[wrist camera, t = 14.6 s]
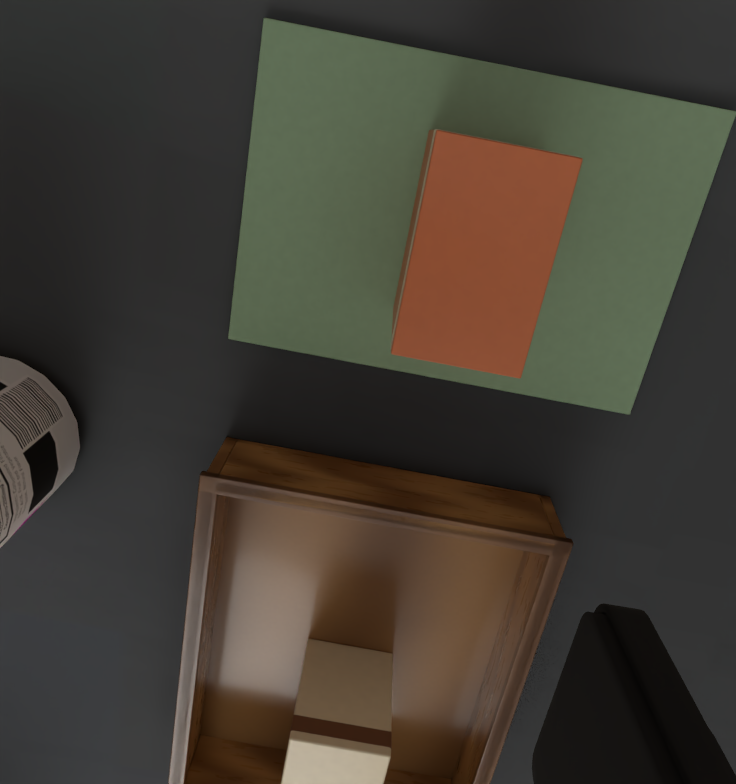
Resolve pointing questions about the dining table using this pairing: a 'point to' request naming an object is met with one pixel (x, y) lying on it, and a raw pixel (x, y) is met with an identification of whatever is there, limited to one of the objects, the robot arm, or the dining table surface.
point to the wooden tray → (358, 608)
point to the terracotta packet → (480, 251)
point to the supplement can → (31, 443)
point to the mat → (398, 191)
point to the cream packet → (341, 717)
